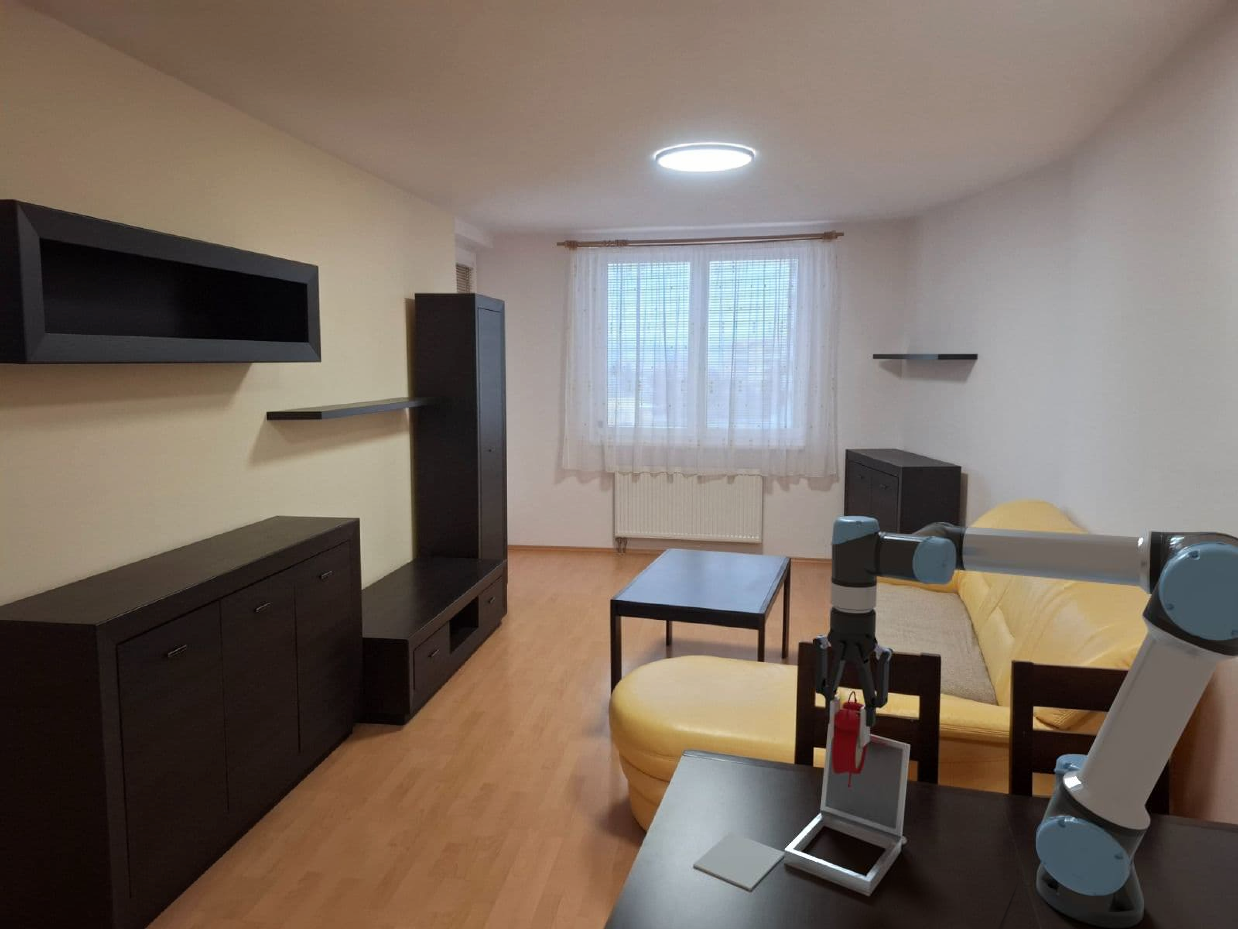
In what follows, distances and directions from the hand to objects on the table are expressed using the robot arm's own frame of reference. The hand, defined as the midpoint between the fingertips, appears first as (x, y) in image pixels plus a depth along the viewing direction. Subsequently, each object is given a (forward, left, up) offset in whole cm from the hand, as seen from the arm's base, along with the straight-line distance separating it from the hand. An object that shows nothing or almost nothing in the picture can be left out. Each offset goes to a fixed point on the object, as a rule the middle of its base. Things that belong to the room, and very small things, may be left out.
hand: (849, 739), depth 140 cm
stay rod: (-6, -11, -22) cm, 25 cm away
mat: (+14, +12, -22) cm, 29 cm away
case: (0, 0, -22) cm, 22 cm away
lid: (0, -7, -19) cm, 20 cm away
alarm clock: (+2, 0, -7) cm, 7 cm away
